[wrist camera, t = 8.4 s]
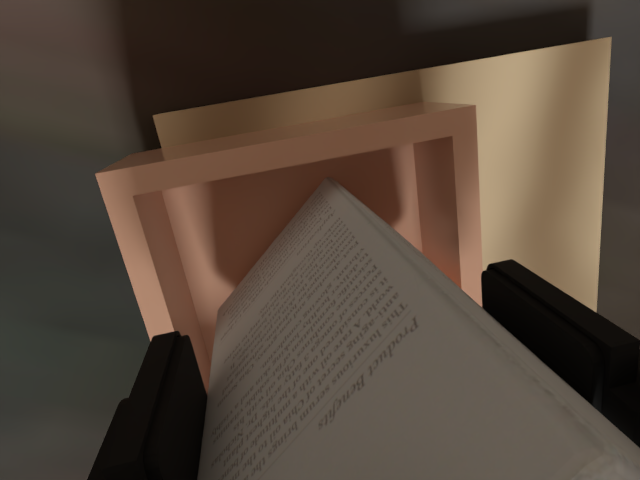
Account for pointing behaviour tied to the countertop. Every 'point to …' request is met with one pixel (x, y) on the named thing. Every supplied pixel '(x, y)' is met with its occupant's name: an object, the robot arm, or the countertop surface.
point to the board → (482, 145)
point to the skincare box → (384, 371)
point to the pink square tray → (288, 204)
